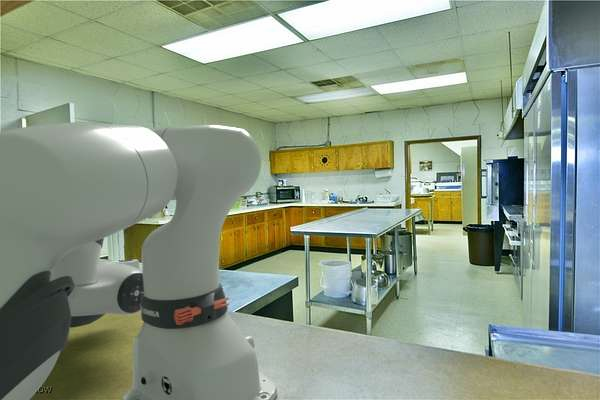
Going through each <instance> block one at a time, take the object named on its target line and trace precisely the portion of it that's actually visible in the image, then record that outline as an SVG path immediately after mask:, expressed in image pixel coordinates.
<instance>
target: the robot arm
mask: <svg viewBox="0 0 600 400" xmlns="http://www.w3.org/2000/svg"><path fill="white" fill-rule="evenodd" d="M261 167H262V157H261V153H260V149H259V146H258V143H256V140H255V139H254V138H253V136H252V135H251V134H250V133H249V132H248V131H247V130H246V129H244V128H238V127H232V126H226V125H218V124H202V125H200V124H199V125H188V126H187V125H185V126H184V125H183V126H168V127H166V126H165V127H164V126H163V127H144V126H141V125H137V124H121V123H103V122H102V123H100V122H97V123H96V122H58V123H57V122H56V123H53V122H52V123H44V124H36V125H29V126H25V127H24V126H23V127H18V128H14V129H10V130H6V131H1V132H0V400H31V398H33V396H34V395H35V394H37V392H38V390H40V389H41V387H42V386H43V385H44V383H45V382H46V380H47V378H48V377H49V376H50V374H51V373H52V370H53V369H54V367H55V365H56V363H57V362H58V361H57V360H58V358H59V356H60V355H61V354H62V353H63V352H64V350H65V349H66V346H67V343H68V340H69V339H68V338H69V335H70V329H71V328H77V327H82V326H86V325H90V324H92V323H94V322H96V321H97V320H100V319H101V318H102V317H103V316H105V315H106V314H114V315H123V316H124V315H135V314H136V313H138V312H140V313H141V315H140V316H141V321H143V322H142V323H143V324H142V326H141V329H140V331H139V332H138V334H137V336H136V337H135V338H134V340H133V342H132V367H131V368H132V369H131V370H132V371H131V372H132V374H131V375H132V377H131V378H132V382H131V383H132V384H131V385H132V386H131V388H130V390H128V391H127V392H126V393H125V394H124V395H123V396H122V398H121V399H122V400H275V399H276V397H277V395H278V389H277V385H276V384H275V383H274V382H273V381H272V380H271V379H269V378H268V377H267V376H266V375H265V374H264V373H263V372H262V371H261V370H259V364H258V357H257V353H256V351H255V342H254V339H253V337H252V336H251V335H246V336H244V334H243V332H242V331H241V329H240V328H239V327H238V325H237V323H236V322H235V321H234V320H233V319H232V318H231V316H230V313H229V312H228V309H229V307H228V306H229V305H230V303H229V302H228V303H227V301H228V300H230V297H226V293H225V292H224V288H223V285H222V284H221V283H220V267H219V266H220V265H219V263H220V261H219V259H220V258H219V257H220V255H219V254H220V239H221V233H222V230H223V229H222V228H223V227H224V224H225V221H226V218H227V216H228V215H229V213H230V211H231V210H232V208H233V207H234V206H235V204H236V203H237V202H238V201H239V200H240V198H241V197H243V196H244V195H245V194H247V193H248V192H249V191H250V190H251V189H252V188H253V186H254V185H255V184H256V182H257V180H258V178H259V176H260V172H261ZM171 201H175V203H176V204H175V211H174V213H173V215H172V217H171V219H170V220H169V221H168V222H166V223H164V224H162V225H160V226H159V227H158V228H156V229H154V230H153V231H151V233H149V234H148V235H147V237H146V238H145V239H144V242H143V244H142V245H141V267H142V268H140V262H139V260H138V259H136V258H131V259H121V260H120V259H119V260H111V259H107V260H104V259H101V255H102V254H101V253H102V248H103V244H104V240H105V238H108V237H111V236H112V235H114V234H117V233H119V232H121V231H123V230H126V229H128V228H129V227H132V226H134V225H136V224H138V223H140V222H142V221H144V220H146V219H149V218H150V217H152V216H155V215H157V214H159V213H160V212H161V211H163V210H164V209H165V208H166V207H167V206H168V205H169V203H170V202H171ZM141 269H142V270H141Z"/></svg>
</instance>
